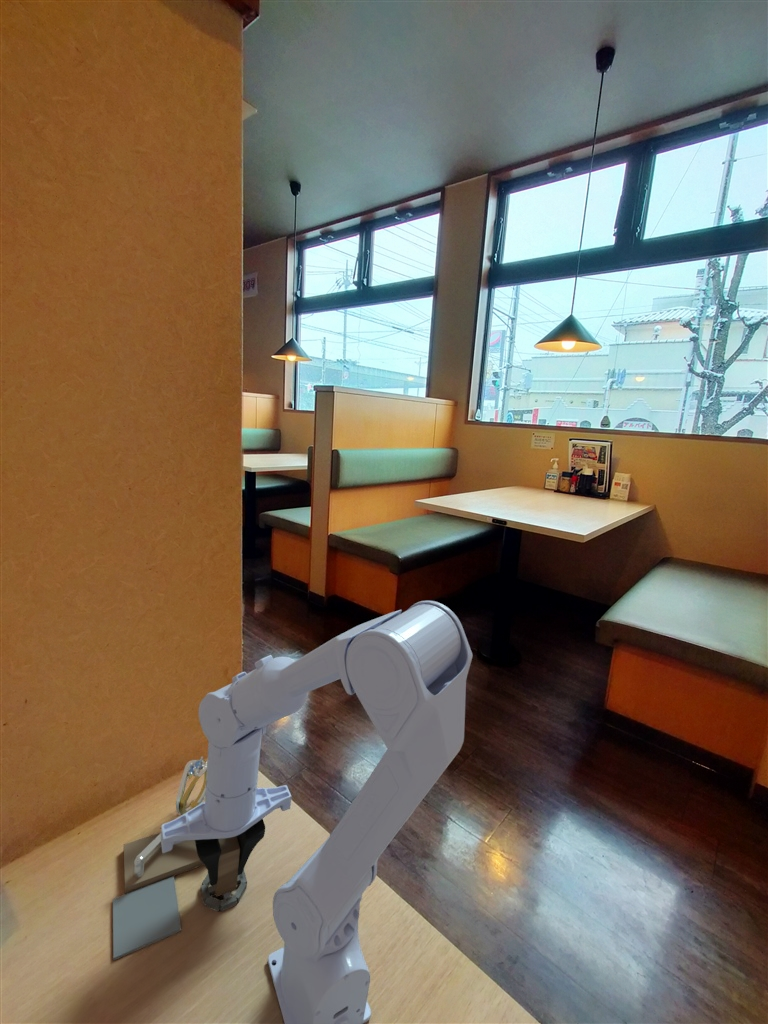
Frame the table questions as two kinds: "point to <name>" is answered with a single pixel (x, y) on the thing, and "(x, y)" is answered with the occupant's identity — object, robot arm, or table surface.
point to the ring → (191, 785)
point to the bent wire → (146, 856)
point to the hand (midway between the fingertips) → (225, 872)
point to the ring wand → (225, 878)
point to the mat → (144, 917)
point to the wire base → (158, 862)
